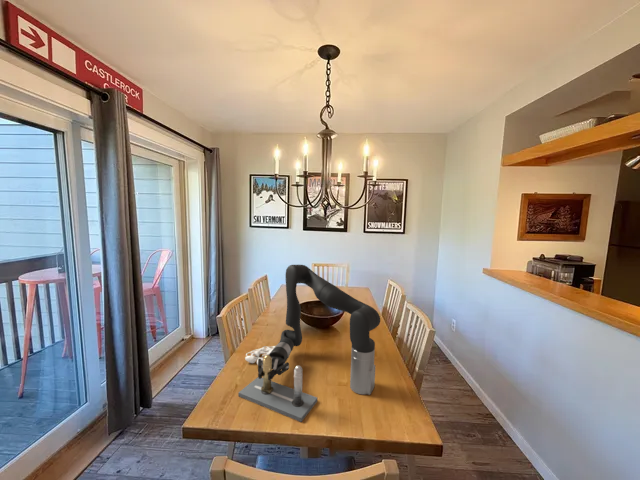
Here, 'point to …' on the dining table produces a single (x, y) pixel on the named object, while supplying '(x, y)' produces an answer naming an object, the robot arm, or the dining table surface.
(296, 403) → the fixed leg
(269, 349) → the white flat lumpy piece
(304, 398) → the board
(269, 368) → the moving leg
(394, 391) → the dining table surface
